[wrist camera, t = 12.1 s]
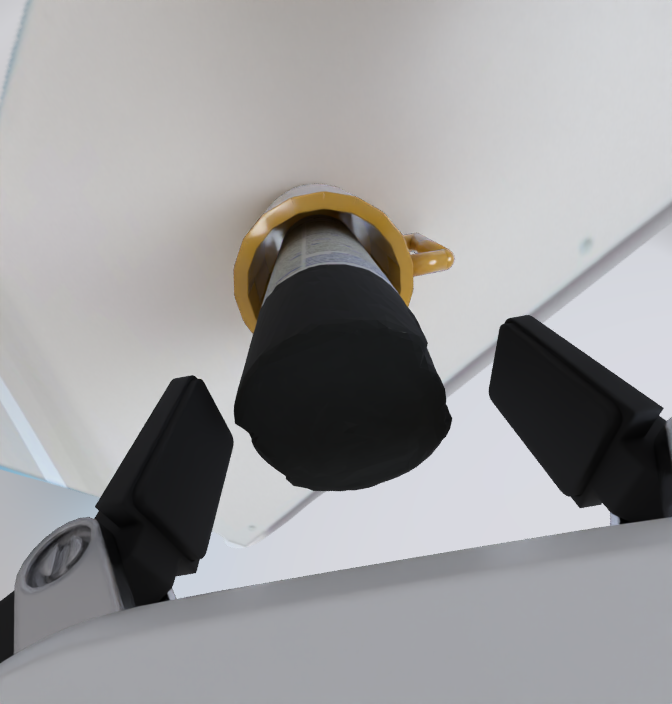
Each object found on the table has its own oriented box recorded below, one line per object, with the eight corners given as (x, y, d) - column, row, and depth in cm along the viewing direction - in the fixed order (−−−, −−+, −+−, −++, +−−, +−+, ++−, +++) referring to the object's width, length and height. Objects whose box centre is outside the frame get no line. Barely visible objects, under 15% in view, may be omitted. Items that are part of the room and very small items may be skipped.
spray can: (301, 303, 27) (301, 520, 11) (264, 233, 24) (173, 391, 7) (368, 273, 27) (483, 457, 10) (338, 196, 23) (440, 274, 6)
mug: (275, 317, 29) (264, 379, 20) (239, 197, 23) (203, 214, 15) (414, 290, 29) (461, 342, 20) (413, 163, 23) (476, 161, 15)
